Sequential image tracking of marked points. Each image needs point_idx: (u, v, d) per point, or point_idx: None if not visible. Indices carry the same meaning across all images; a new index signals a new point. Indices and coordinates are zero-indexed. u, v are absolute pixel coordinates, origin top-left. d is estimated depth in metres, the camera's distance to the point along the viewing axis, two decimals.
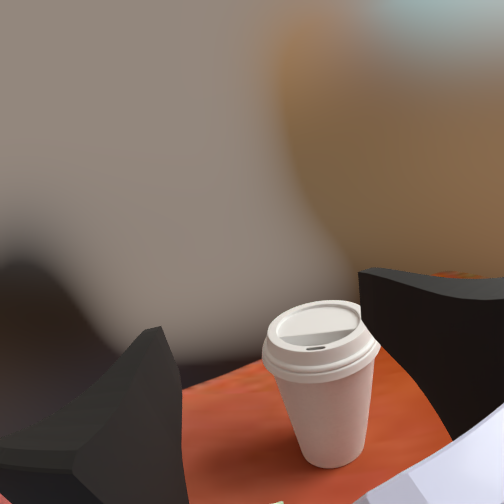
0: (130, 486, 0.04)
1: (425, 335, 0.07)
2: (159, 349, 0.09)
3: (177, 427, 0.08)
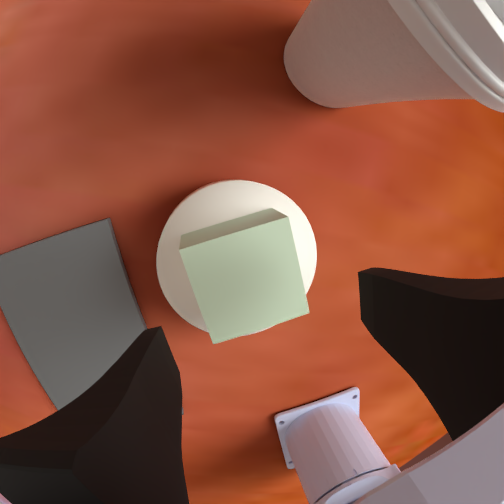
0: (130, 486, 0.04)
1: (425, 335, 0.07)
2: (159, 349, 0.09)
3: (177, 427, 0.08)
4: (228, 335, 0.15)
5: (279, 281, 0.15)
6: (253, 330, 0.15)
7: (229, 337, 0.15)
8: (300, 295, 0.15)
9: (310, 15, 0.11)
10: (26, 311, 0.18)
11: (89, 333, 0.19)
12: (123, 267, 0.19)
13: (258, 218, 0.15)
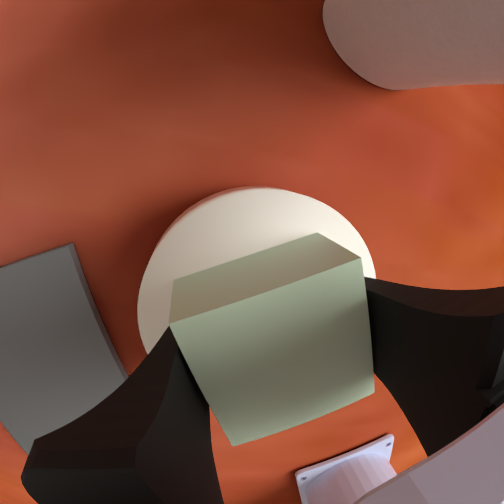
0: (180, 481, 0.04)
1: (399, 347, 0.07)
2: None
3: (207, 421, 0.08)
4: (255, 435, 0.09)
5: (338, 359, 0.08)
6: (292, 424, 0.09)
7: (257, 436, 0.09)
8: (366, 373, 0.09)
9: None
10: None
11: (60, 392, 0.13)
12: (95, 313, 0.12)
13: (303, 256, 0.09)
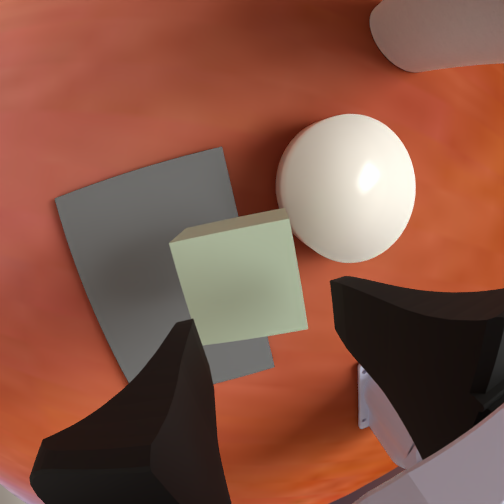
0: (191, 480, 0.04)
1: (393, 350, 0.07)
2: (194, 341, 0.09)
3: (213, 420, 0.08)
4: (216, 339, 0.14)
5: (275, 290, 0.13)
6: (243, 338, 0.14)
7: (218, 341, 0.14)
8: (298, 308, 0.13)
9: None
10: (106, 253, 0.18)
11: None
12: (233, 198, 0.19)
13: (262, 217, 0.14)
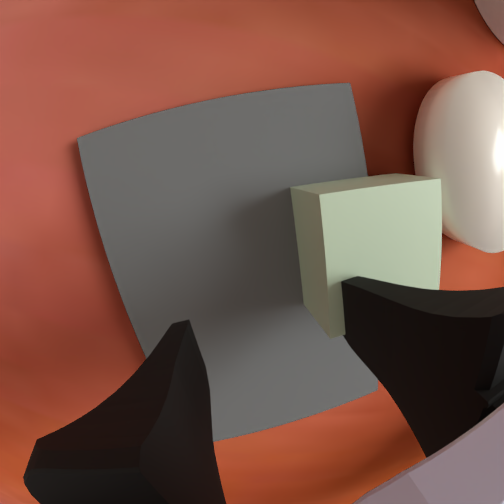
0: (183, 481, 0.04)
1: (397, 348, 0.07)
2: (190, 342, 0.09)
3: (208, 421, 0.08)
4: None
5: (421, 258, 0.10)
6: None
7: None
8: (435, 279, 0.11)
9: None
10: (161, 231, 0.11)
11: (288, 267, 0.13)
12: None
13: (397, 178, 0.11)
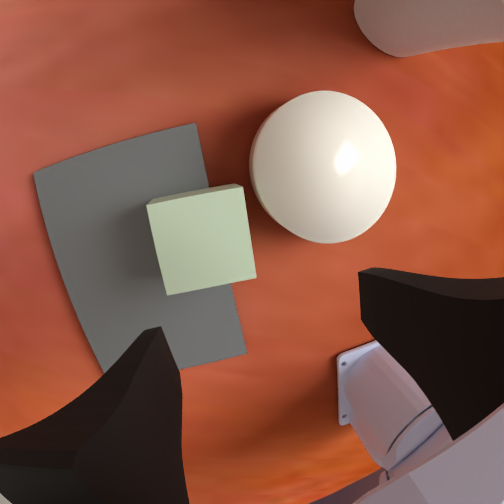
0: (130, 486, 0.04)
1: (425, 335, 0.07)
2: (159, 349, 0.09)
3: (177, 427, 0.08)
4: (181, 288, 0.17)
5: (230, 244, 0.17)
6: (203, 287, 0.17)
7: (182, 291, 0.17)
8: (249, 259, 0.17)
9: None
10: (78, 227, 0.17)
11: (155, 251, 0.19)
12: None
13: (219, 188, 0.17)
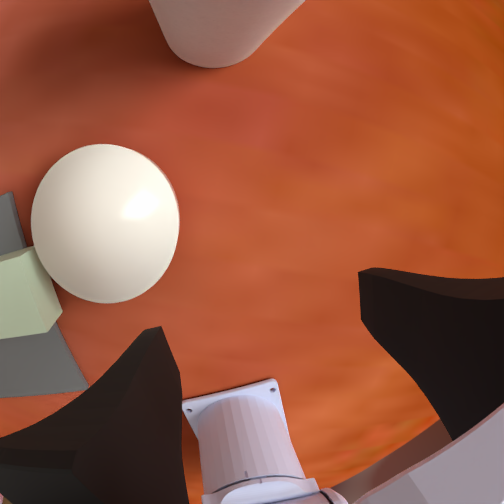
0: (130, 486, 0.04)
1: (425, 335, 0.07)
2: (159, 349, 0.09)
3: (177, 427, 0.08)
4: (2, 335, 0.15)
5: (22, 303, 0.15)
6: (16, 336, 0.16)
7: (4, 337, 0.15)
8: (37, 317, 0.16)
9: None
10: None
11: None
12: (21, 236, 0.17)
13: (17, 253, 0.16)
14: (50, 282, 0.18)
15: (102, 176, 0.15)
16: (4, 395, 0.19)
